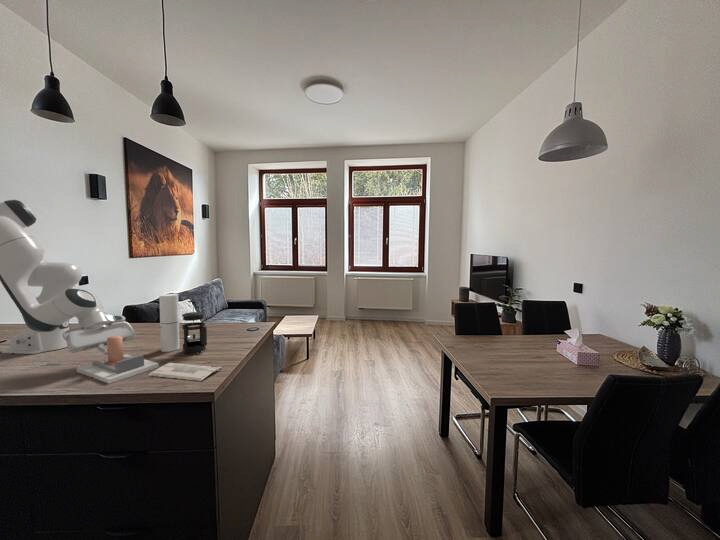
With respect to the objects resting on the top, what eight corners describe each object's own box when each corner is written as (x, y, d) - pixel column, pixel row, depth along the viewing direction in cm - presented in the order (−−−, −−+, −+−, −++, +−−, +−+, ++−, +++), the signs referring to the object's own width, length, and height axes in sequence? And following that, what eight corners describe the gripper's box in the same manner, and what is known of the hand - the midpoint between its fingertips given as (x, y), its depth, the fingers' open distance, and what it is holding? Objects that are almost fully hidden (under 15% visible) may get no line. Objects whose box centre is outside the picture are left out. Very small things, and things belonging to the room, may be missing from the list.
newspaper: (224, 369, 112) (224, 363, 112) (202, 386, 100) (201, 380, 100) (174, 364, 116) (173, 358, 116) (146, 380, 105) (145, 373, 104)
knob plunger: (104, 364, 109) (103, 338, 109) (120, 360, 114) (119, 334, 113) (111, 367, 107) (110, 340, 106) (127, 362, 112) (126, 336, 111)
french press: (175, 352, 128) (174, 301, 127) (194, 346, 137) (193, 298, 136) (196, 356, 125) (195, 302, 123) (213, 349, 134) (212, 299, 132)
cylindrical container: (170, 352, 129) (168, 296, 127) (156, 351, 130) (155, 295, 129) (183, 347, 136) (182, 294, 134) (170, 346, 137) (168, 293, 136)
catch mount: (77, 371, 107) (76, 357, 107) (126, 357, 122) (126, 344, 121) (108, 383, 98) (108, 367, 97) (158, 367, 112) (158, 353, 112)
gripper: (63, 326, 104) (77, 357, 101) (128, 315, 123) (142, 341, 119) (58, 336, 106) (71, 367, 103) (123, 324, 125) (136, 350, 121)
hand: (110, 353), depth 111 cm, fingers closed
